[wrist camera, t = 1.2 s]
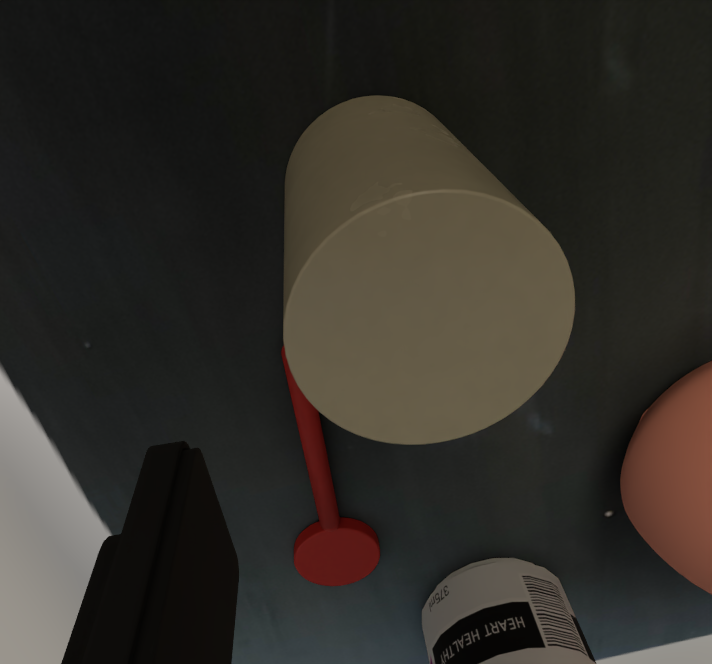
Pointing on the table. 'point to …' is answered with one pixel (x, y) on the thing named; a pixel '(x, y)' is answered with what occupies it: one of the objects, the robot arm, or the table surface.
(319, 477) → the spoon
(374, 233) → the beige cylinder
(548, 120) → the table surface
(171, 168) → the table surface
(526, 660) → the supplement can
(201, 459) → the robot arm
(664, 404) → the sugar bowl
